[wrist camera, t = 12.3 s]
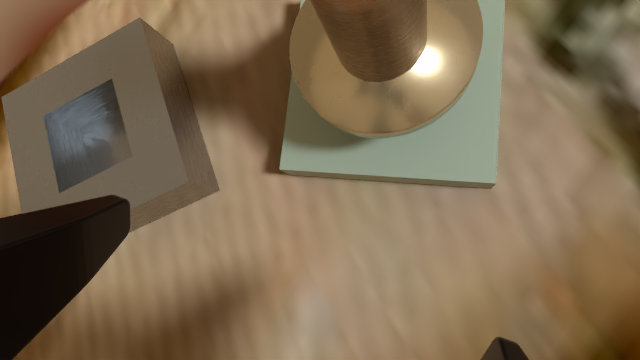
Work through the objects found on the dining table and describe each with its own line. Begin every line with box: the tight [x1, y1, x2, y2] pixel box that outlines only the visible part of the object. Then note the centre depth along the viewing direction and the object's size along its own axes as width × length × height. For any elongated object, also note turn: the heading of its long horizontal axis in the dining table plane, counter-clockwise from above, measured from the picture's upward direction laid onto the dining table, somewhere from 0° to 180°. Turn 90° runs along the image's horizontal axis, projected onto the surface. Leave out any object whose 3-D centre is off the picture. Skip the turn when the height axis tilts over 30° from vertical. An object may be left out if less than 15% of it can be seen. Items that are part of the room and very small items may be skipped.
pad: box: [279, 0, 505, 189], centre depth 20 cm, size 10×10×2 cm
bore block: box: [2, 18, 219, 232], centre depth 23 cm, size 10×10×3 cm
